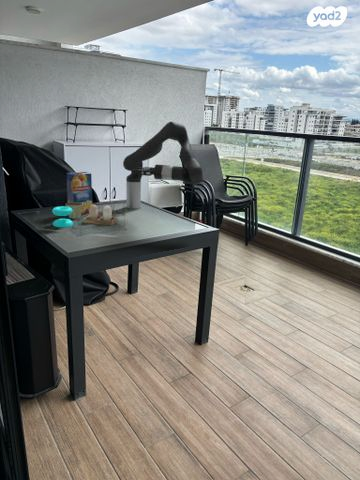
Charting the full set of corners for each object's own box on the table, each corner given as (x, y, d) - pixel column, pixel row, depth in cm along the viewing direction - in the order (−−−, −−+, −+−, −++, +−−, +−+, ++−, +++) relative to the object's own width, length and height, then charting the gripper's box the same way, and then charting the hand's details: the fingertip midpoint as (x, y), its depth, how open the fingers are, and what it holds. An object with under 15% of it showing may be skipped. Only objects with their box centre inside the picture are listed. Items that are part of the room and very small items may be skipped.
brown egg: (91, 219, 205) (90, 203, 202) (99, 220, 205) (98, 204, 202) (87, 221, 201) (87, 205, 198) (95, 222, 200) (95, 205, 197)
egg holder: (89, 220, 208) (89, 214, 207) (117, 222, 205) (117, 217, 204) (82, 224, 200) (82, 218, 199) (112, 227, 197) (111, 221, 196)
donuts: (48, 208, 188) (59, 205, 197) (49, 227, 191) (60, 223, 200) (64, 211, 185) (76, 207, 194) (65, 230, 188) (76, 225, 197)
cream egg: (104, 220, 204) (104, 204, 201) (112, 221, 204) (112, 205, 201) (101, 222, 200) (101, 206, 197) (109, 223, 199) (109, 206, 196)
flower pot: (75, 215, 215) (74, 201, 213) (87, 218, 211) (86, 203, 208) (62, 219, 208) (61, 204, 205) (74, 221, 203) (74, 206, 200)
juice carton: (74, 216, 214) (72, 174, 207) (68, 213, 220) (66, 173, 212) (92, 213, 222) (91, 173, 215) (86, 210, 227) (85, 171, 220)
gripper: (167, 163, 196) (137, 161, 198) (161, 166, 182) (129, 164, 185) (166, 177, 198) (137, 175, 201) (160, 181, 185) (129, 179, 187)
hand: (133, 170), depth 193 cm, fingers open, 8 cm apart
